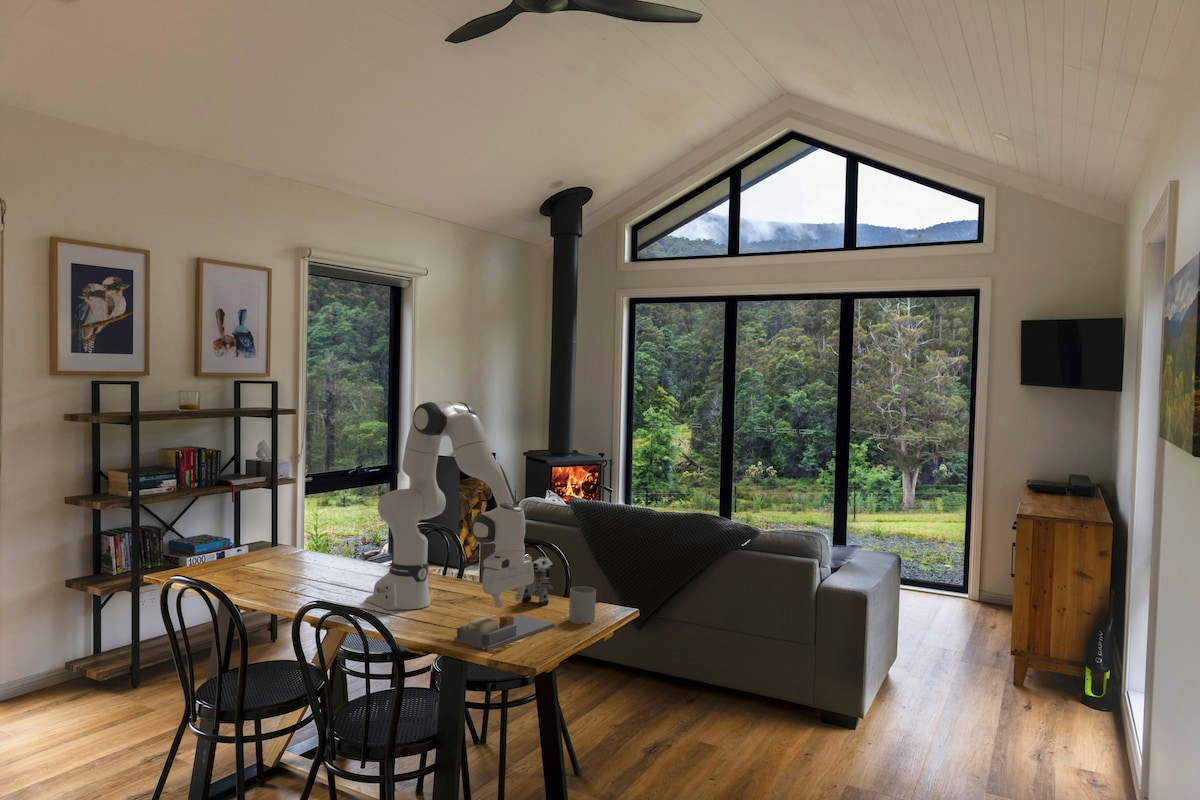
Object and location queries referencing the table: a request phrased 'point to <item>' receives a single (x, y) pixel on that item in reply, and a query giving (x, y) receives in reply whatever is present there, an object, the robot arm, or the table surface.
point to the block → (490, 624)
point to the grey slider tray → (502, 633)
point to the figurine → (539, 582)
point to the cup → (582, 604)
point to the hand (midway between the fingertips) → (508, 603)
